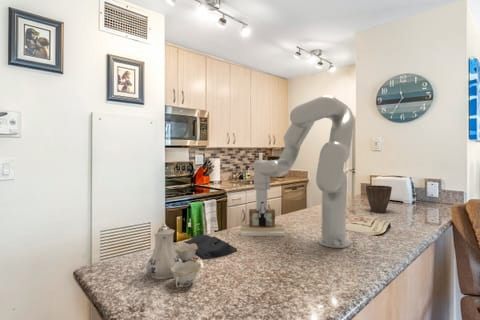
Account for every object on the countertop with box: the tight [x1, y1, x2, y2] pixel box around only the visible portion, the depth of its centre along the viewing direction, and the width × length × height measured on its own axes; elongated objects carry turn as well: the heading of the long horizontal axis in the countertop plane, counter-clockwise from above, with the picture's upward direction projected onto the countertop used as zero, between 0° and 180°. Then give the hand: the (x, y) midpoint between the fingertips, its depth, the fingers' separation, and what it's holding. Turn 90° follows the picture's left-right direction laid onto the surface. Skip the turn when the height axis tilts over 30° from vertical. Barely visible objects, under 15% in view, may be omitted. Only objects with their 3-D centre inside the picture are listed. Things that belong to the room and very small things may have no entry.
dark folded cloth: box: [184, 234, 238, 261], centre depth 112 cm, size 15×22×5 cm
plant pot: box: [365, 184, 393, 214], centre depth 177 cm, size 15×15×16 cm
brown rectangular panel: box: [248, 208, 276, 228], centre depth 134 cm, size 12×4×8 cm, turn 88°
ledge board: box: [240, 223, 286, 237], centre depth 134 cm, size 20×12×3 cm, turn 88°
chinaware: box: [145, 222, 201, 289], centre depth 90 cm, size 28×17×17 cm, turn 16°
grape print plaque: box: [346, 214, 392, 236], centre depth 146 cm, size 28×6×30 cm
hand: (262, 224), depth 134 cm, fingers closed on brown rectangular panel, 4 cm apart
